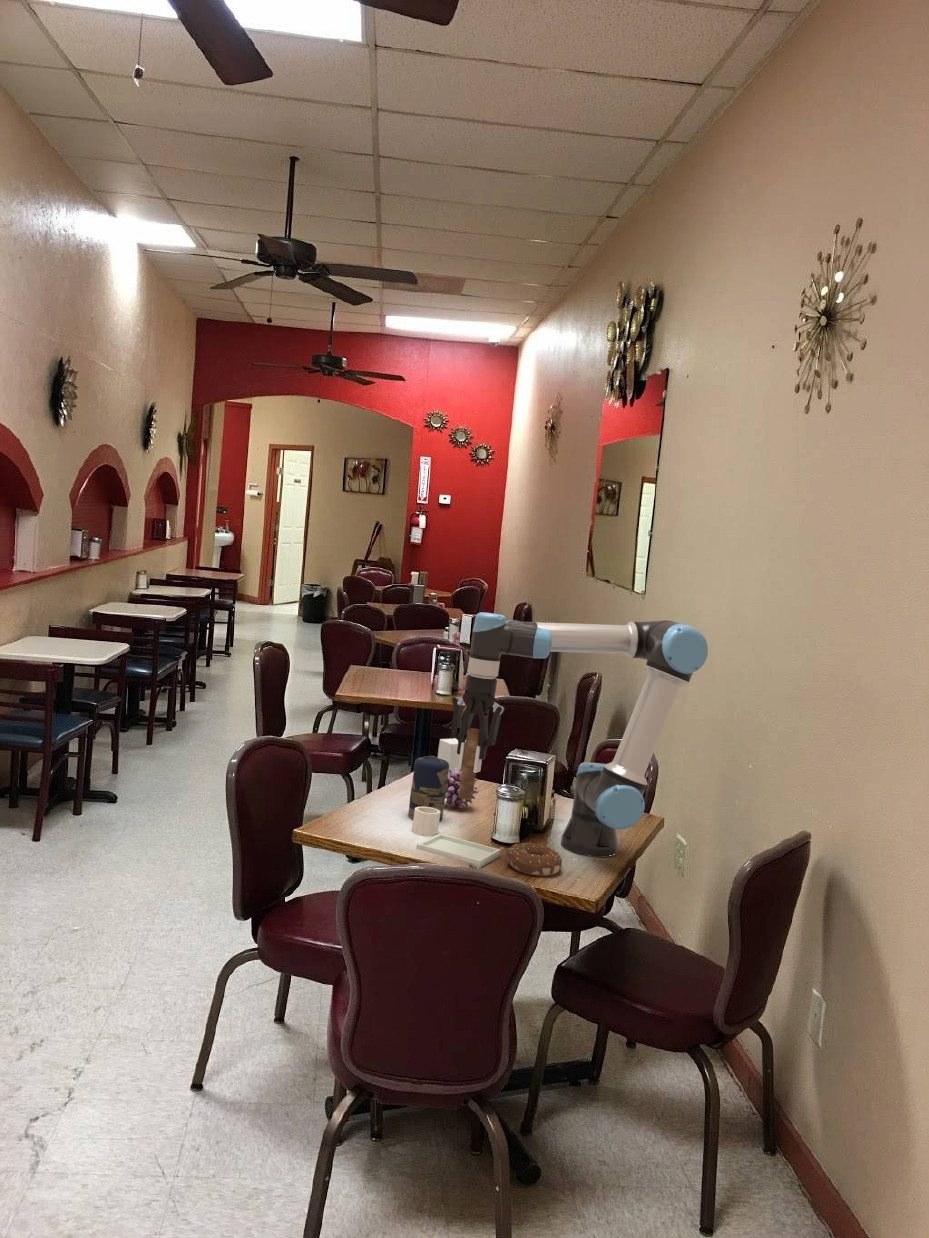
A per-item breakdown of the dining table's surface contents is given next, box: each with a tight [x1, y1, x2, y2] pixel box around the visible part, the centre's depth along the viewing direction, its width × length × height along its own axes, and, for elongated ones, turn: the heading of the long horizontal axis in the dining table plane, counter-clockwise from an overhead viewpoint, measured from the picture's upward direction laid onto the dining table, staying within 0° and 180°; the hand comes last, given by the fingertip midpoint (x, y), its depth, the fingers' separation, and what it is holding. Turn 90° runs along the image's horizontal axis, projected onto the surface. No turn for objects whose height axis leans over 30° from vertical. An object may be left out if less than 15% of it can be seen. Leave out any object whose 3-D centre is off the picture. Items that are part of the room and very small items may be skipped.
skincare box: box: [437, 737, 466, 775], centre depth 316 cm, size 8×7×16 cm
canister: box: [407, 755, 449, 823], centre depth 276 cm, size 10×10×18 cm
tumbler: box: [411, 807, 440, 837], centre depth 263 cm, size 7×7×6 cm
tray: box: [415, 833, 502, 869], centre depth 250 cm, size 17×13×2 cm
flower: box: [445, 768, 479, 809], centre depth 294 cm, size 12×12×12 cm
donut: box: [505, 842, 563, 877], centre depth 247 cm, size 14×14×5 cm
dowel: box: [458, 727, 480, 800], centre depth 249 cm, size 4×4×17 cm
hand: (469, 769), depth 249 cm, fingers closed on dowel, 3 cm apart
